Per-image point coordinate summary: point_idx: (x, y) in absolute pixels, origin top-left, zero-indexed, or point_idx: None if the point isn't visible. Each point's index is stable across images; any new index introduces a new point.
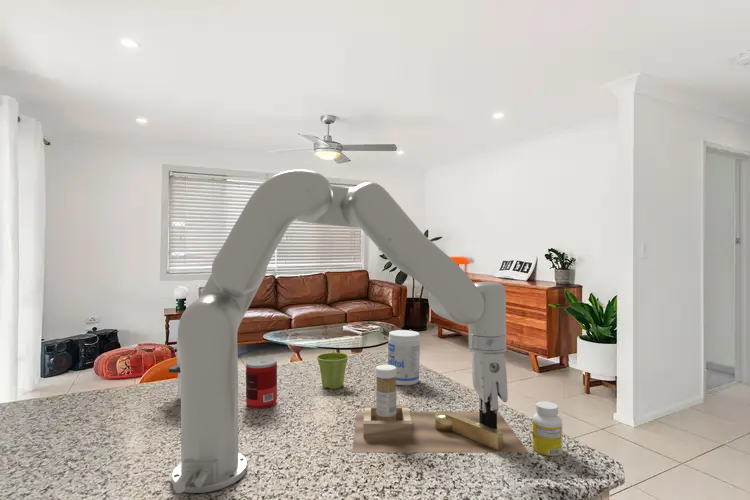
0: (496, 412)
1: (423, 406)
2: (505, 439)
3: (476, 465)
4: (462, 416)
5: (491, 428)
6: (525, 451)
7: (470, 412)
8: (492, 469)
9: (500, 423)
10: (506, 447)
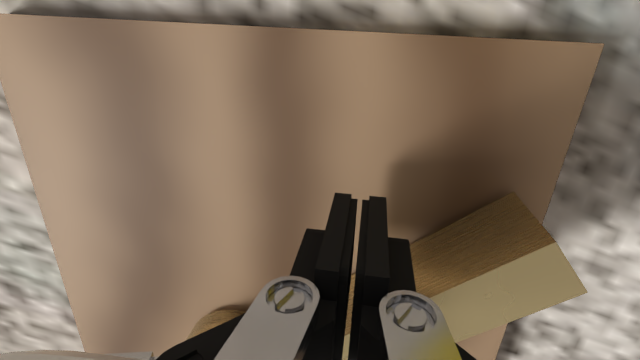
0: (435, 310)
1: (10, 330)
2: (394, 126)
3: (570, 323)
4: (106, 244)
5: (469, 289)
6: (587, 62)
7: (45, 191)
8: (633, 278)
9: (167, 70)
10: (499, 162)
